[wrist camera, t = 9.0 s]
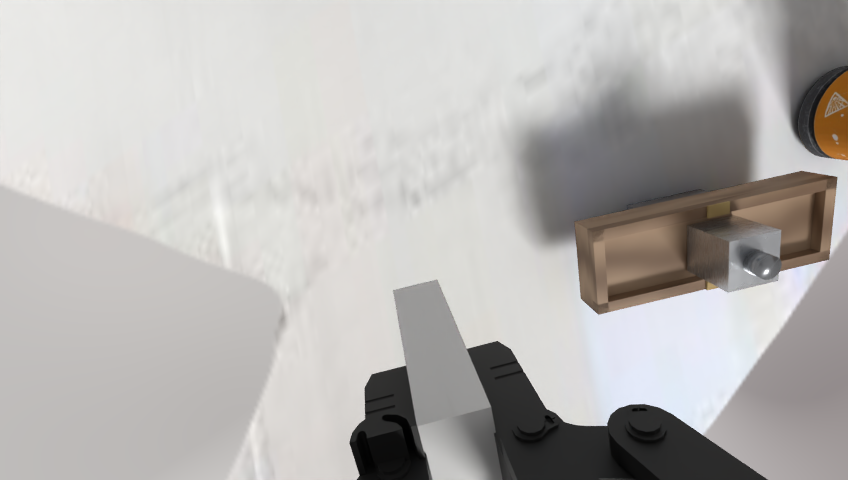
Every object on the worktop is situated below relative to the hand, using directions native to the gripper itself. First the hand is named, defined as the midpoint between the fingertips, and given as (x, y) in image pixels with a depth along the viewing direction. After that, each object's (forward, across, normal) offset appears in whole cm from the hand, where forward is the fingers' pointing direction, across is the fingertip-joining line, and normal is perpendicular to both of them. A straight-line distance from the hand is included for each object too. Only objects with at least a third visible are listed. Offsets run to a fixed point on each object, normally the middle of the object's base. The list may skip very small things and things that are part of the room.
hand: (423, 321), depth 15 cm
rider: (+23, +28, -12) cm, 38 cm away
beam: (+29, +28, -12) cm, 42 cm away
